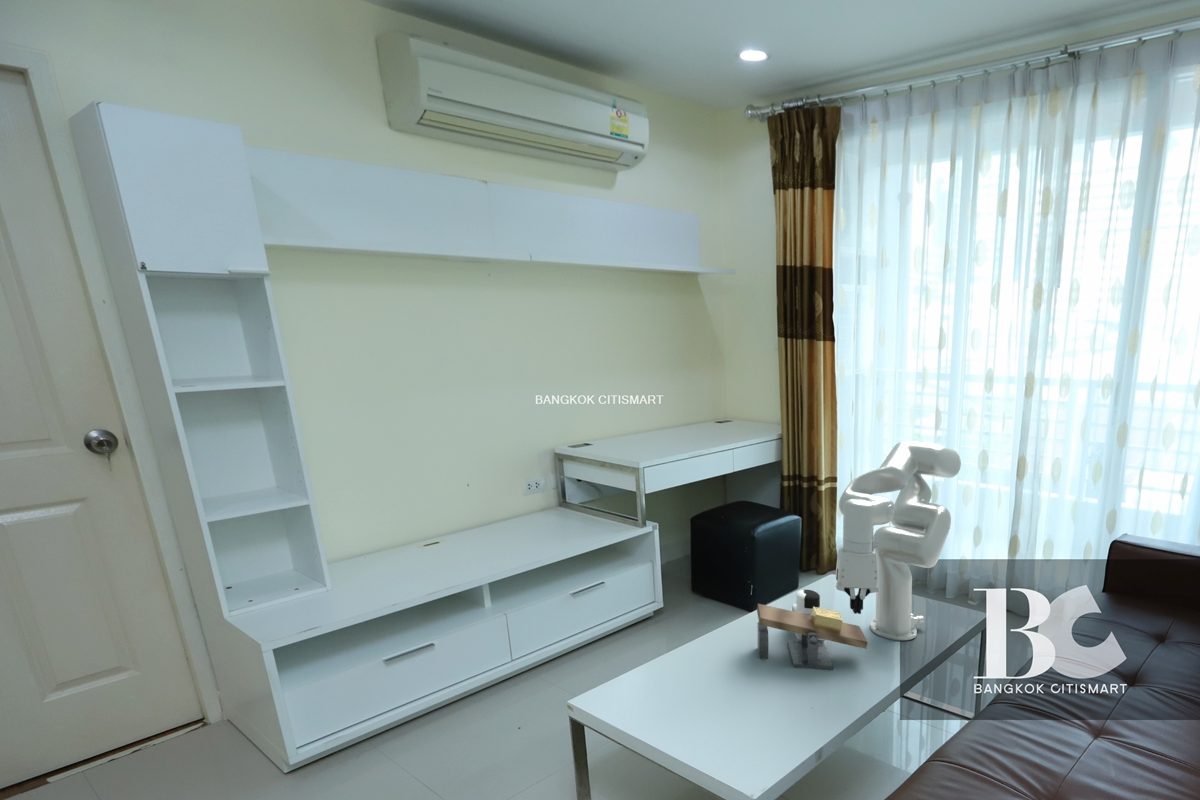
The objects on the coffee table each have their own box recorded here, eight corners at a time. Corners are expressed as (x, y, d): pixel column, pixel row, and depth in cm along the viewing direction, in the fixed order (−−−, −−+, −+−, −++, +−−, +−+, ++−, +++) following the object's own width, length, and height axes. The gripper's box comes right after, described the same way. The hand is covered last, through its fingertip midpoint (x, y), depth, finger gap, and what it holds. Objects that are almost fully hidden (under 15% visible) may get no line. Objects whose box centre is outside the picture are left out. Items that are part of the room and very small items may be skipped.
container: (817, 628, 181) (818, 587, 180) (824, 641, 174) (825, 598, 172) (791, 627, 182) (791, 586, 181) (797, 640, 174) (797, 597, 173)
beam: (857, 632, 167) (859, 626, 167) (866, 648, 158) (867, 642, 158) (756, 610, 171) (758, 603, 171) (759, 624, 163) (760, 617, 162)
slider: (836, 624, 166) (839, 612, 165) (840, 632, 161) (843, 620, 160) (810, 618, 167) (813, 606, 166) (813, 626, 162) (816, 614, 162)
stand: (823, 644, 171) (823, 613, 170) (833, 671, 158) (833, 636, 157) (756, 641, 175) (756, 609, 174) (760, 666, 161) (760, 632, 160)
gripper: (883, 542, 162) (881, 607, 164) (825, 540, 165) (824, 604, 167) (891, 551, 155) (889, 619, 157) (831, 549, 158) (830, 615, 159)
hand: (856, 611), depth 162 cm, fingers closed
